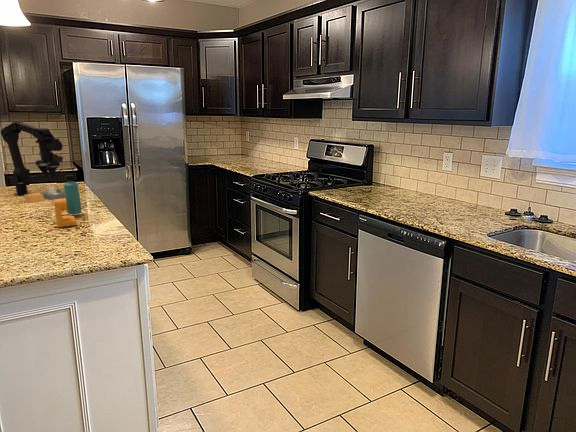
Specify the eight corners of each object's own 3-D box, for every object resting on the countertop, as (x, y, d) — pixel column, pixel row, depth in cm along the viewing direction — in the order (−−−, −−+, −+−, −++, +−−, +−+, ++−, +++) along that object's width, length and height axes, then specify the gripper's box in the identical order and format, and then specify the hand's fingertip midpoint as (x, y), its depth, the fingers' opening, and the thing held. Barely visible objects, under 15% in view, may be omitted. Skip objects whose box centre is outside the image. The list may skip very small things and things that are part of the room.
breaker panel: (40, 196, 249) (39, 191, 249) (61, 193, 259) (60, 188, 258) (50, 199, 241) (50, 194, 240) (72, 196, 250) (71, 191, 249)
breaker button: (47, 193, 248) (47, 187, 247) (53, 193, 250) (53, 187, 249) (50, 194, 246) (49, 188, 245) (56, 193, 248) (55, 187, 247)
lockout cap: (25, 201, 238) (24, 194, 237) (38, 199, 243) (37, 192, 242) (30, 202, 233) (29, 196, 232) (44, 200, 239) (43, 194, 238)
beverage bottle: (85, 215, 208) (80, 174, 203) (73, 218, 202) (68, 176, 197) (76, 213, 210) (70, 173, 205) (64, 216, 204) (58, 175, 199)
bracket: (76, 226, 188) (73, 200, 185) (58, 228, 184) (54, 201, 181) (74, 221, 197) (71, 195, 194) (56, 223, 193) (53, 197, 190)
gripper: (67, 150, 242) (71, 177, 246) (53, 149, 253) (57, 175, 257) (46, 151, 233) (51, 180, 237) (33, 150, 245) (37, 177, 249)
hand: (49, 178), depth 245 cm, fingers open, 9 cm apart
